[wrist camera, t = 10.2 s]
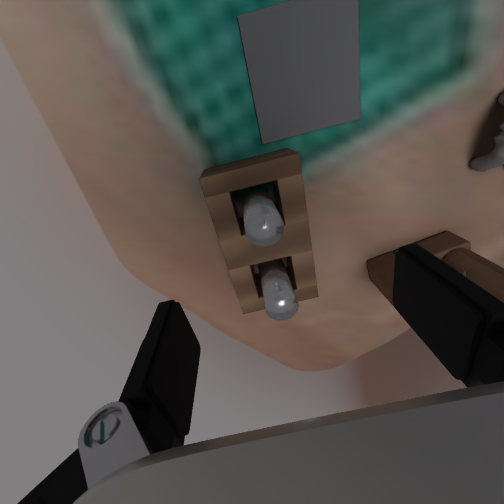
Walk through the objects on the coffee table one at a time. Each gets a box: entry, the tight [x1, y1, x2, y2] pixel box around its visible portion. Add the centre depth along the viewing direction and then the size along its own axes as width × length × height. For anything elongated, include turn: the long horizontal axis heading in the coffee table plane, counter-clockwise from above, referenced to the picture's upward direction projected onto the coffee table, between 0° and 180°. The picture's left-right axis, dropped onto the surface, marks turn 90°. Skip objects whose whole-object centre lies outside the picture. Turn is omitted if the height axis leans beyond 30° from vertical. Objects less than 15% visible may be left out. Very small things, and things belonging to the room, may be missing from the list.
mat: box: [238, 0, 361, 144], centre depth 23 cm, size 10×10×1 cm
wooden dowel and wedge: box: [367, 231, 504, 306], centre depth 25 cm, size 4×11×18 cm, turn 113°
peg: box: [241, 184, 284, 247], centre depth 23 cm, size 3×3×10 cm
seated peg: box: [258, 258, 298, 320], centre depth 27 cm, size 3×3×10 cm
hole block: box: [199, 148, 318, 314], centre depth 27 cm, size 16×9×5 cm, turn 13°
